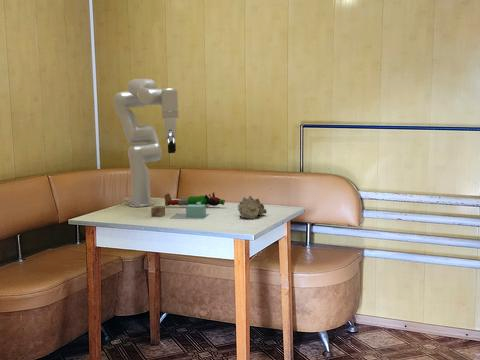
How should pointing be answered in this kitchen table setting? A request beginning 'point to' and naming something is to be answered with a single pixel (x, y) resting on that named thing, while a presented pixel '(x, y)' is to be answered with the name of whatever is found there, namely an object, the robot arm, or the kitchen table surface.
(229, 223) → the kitchen table surface
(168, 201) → the toy
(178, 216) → the build board
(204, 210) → the teal brick
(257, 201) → the seashell
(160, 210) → the walnut block
